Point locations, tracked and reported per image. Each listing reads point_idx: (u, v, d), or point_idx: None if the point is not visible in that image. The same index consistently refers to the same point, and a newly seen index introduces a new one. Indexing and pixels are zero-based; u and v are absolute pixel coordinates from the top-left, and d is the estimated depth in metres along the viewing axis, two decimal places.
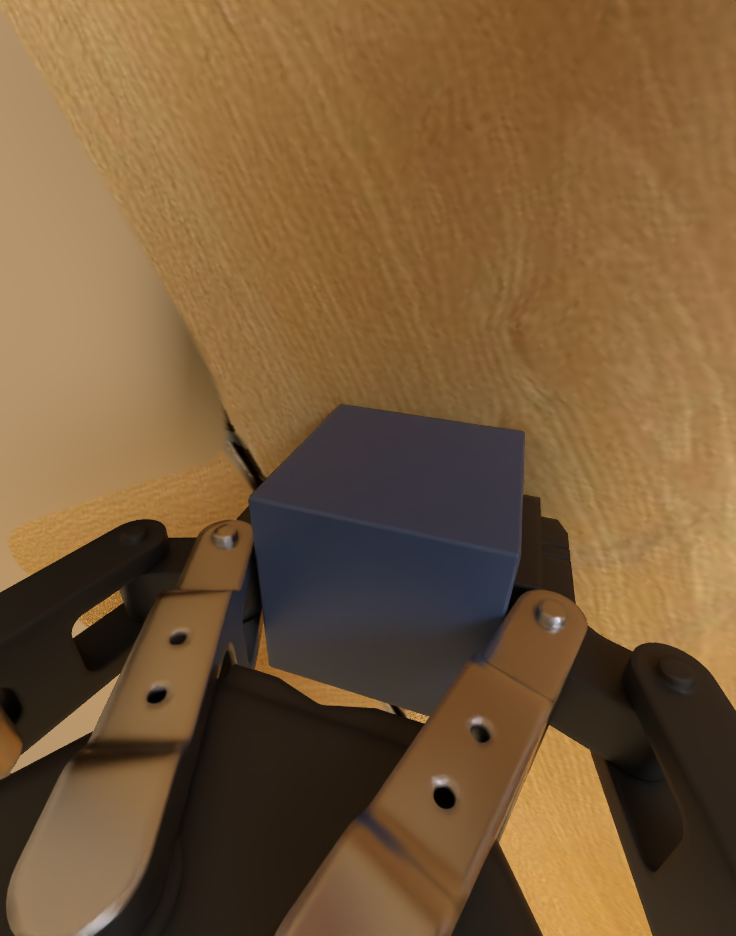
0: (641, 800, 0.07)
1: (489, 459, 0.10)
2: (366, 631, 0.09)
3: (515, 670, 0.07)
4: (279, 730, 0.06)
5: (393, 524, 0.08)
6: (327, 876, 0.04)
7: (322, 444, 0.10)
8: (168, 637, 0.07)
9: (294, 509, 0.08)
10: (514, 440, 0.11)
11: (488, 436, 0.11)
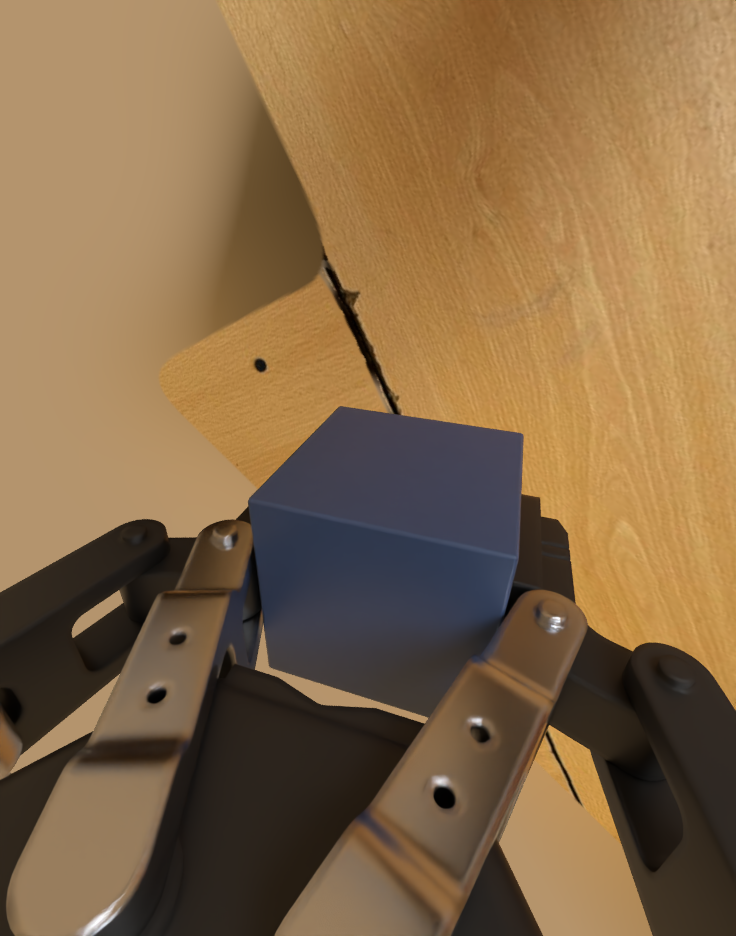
0: (641, 800, 0.07)
1: (488, 462, 0.10)
2: (365, 632, 0.09)
3: (515, 670, 0.07)
4: (279, 730, 0.06)
5: (392, 525, 0.08)
6: (327, 876, 0.04)
7: (321, 446, 0.10)
8: (168, 637, 0.07)
9: (293, 511, 0.08)
10: (513, 442, 0.11)
11: (487, 437, 0.11)
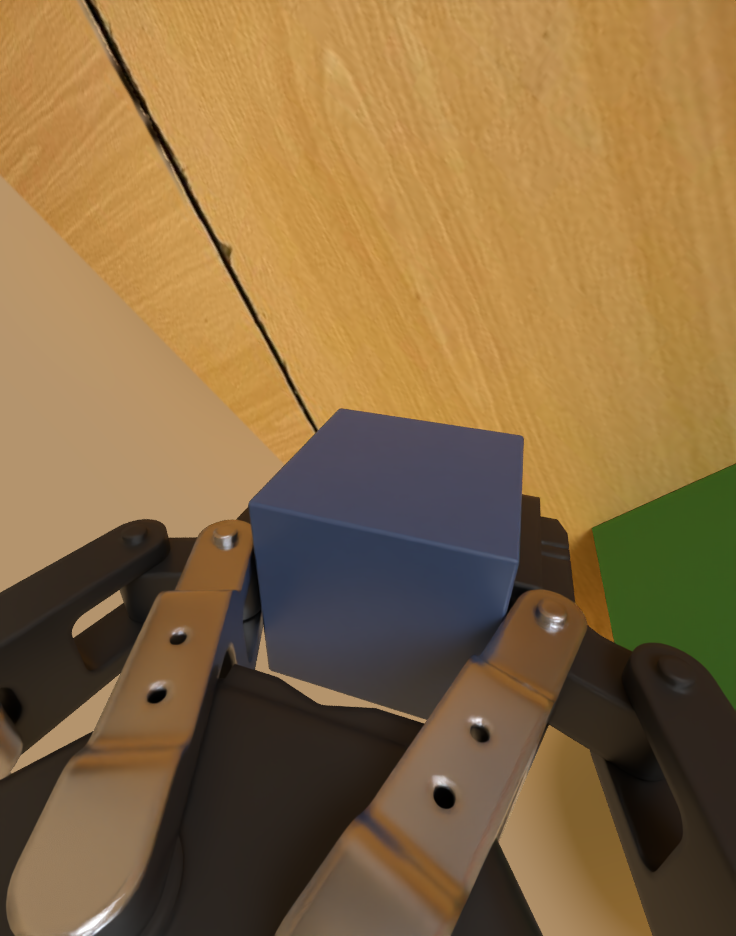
0: (641, 800, 0.07)
1: (488, 464, 0.10)
2: (365, 635, 0.09)
3: (515, 670, 0.07)
4: (279, 730, 0.06)
5: (393, 529, 0.08)
6: (327, 876, 0.04)
7: (322, 449, 0.10)
8: (168, 637, 0.07)
9: (294, 515, 0.08)
10: (513, 444, 0.11)
11: (488, 440, 0.11)
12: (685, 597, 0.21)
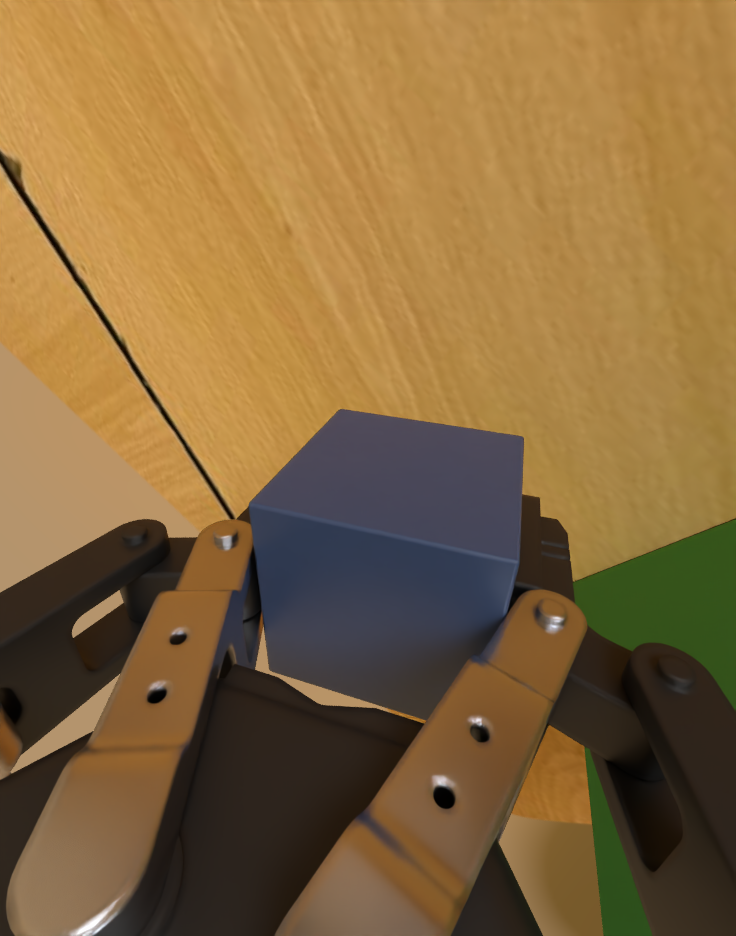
0: (641, 800, 0.07)
1: (488, 465, 0.10)
2: (365, 635, 0.09)
3: (515, 670, 0.07)
4: (279, 730, 0.06)
5: (393, 530, 0.08)
6: (327, 876, 0.04)
7: (322, 449, 0.10)
8: (168, 637, 0.07)
9: (294, 516, 0.08)
10: (513, 445, 0.11)
11: (488, 441, 0.11)
12: None
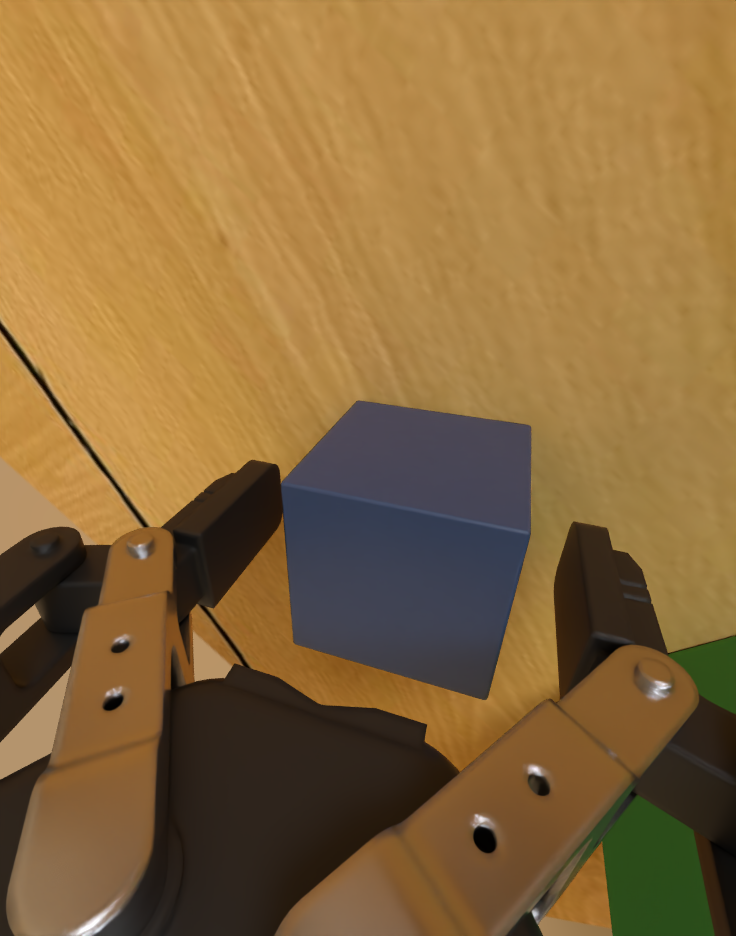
0: None
1: (499, 450, 0.11)
2: (386, 606, 0.10)
3: (628, 753, 0.06)
4: (279, 730, 0.06)
5: (414, 505, 0.09)
6: (348, 876, 0.04)
7: (344, 436, 0.11)
8: (109, 647, 0.07)
9: (323, 493, 0.09)
10: (522, 432, 0.12)
11: (497, 429, 0.12)
12: None
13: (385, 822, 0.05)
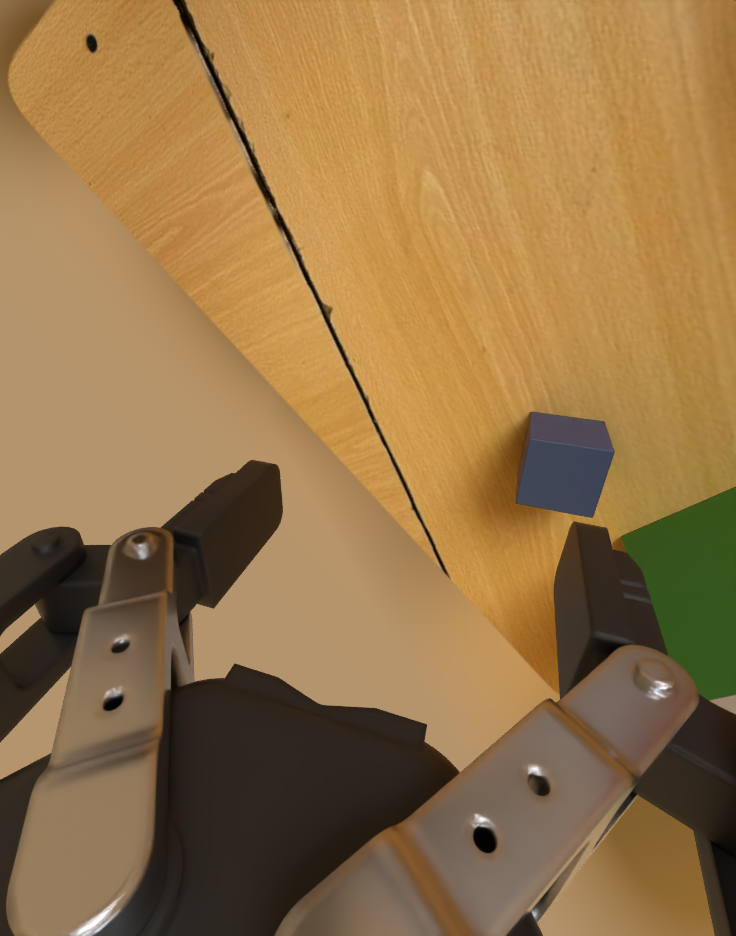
0: None
1: (596, 430, 0.30)
2: (560, 482, 0.30)
3: (627, 753, 0.06)
4: (279, 730, 0.06)
5: (577, 444, 0.28)
6: (348, 875, 0.04)
7: (538, 425, 0.31)
8: (109, 648, 0.07)
9: (546, 441, 0.29)
10: (602, 424, 0.31)
11: (592, 423, 0.31)
12: (701, 589, 0.27)
13: (385, 822, 0.05)
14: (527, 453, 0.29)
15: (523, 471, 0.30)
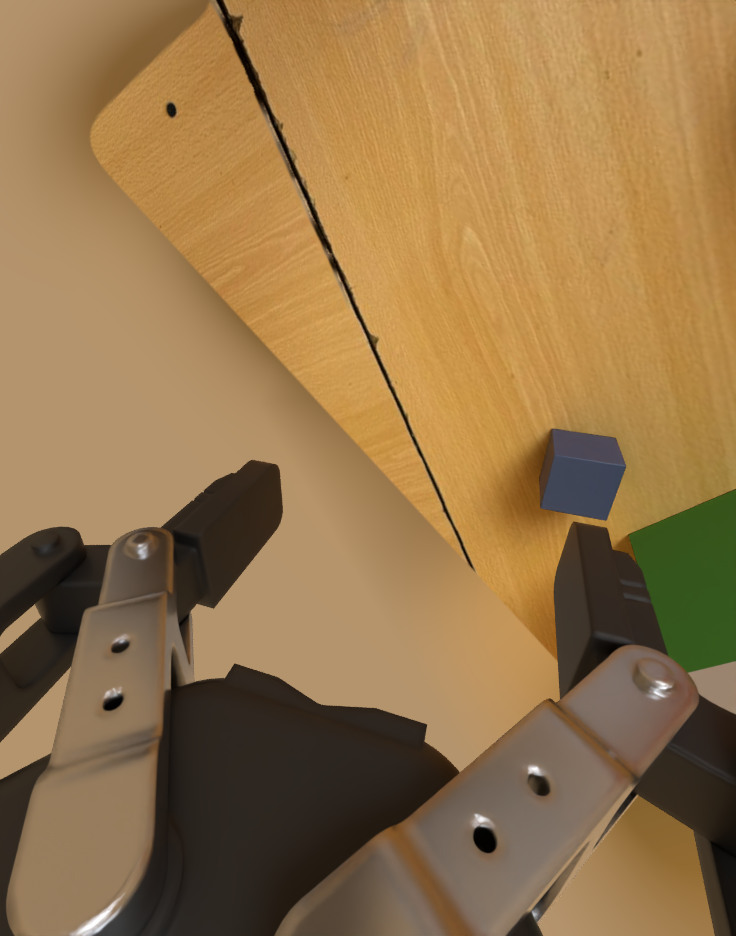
0: None
1: (609, 446, 0.36)
2: (579, 491, 0.35)
3: (628, 753, 0.06)
4: (279, 730, 0.06)
5: (594, 460, 0.34)
6: (348, 876, 0.04)
7: (560, 441, 0.36)
8: (109, 647, 0.07)
9: (568, 457, 0.34)
10: (614, 440, 0.37)
11: (605, 439, 0.37)
12: (697, 580, 0.32)
13: (385, 822, 0.05)
14: (551, 467, 0.35)
15: (548, 481, 0.35)
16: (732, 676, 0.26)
